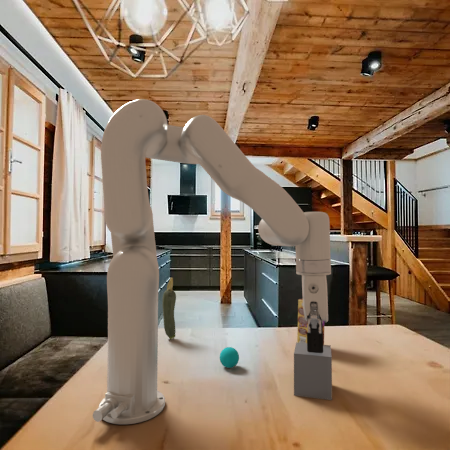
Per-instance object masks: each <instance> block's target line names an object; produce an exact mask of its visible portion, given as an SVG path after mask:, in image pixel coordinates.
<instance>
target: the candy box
mask: <svg viewBox="0 0 450 450" xmlns="http://www.w3.org/2000/svg"><path fill="white" fill-rule="evenodd" d="M297 304H298V305H297V336H296V337H297V341H296V342H297V343H307V332H308V321H306V320H305V317H304V308H303V298H299V299H297ZM321 321H322V319H321ZM322 325H323V345H325V321H322Z"/></svg>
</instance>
